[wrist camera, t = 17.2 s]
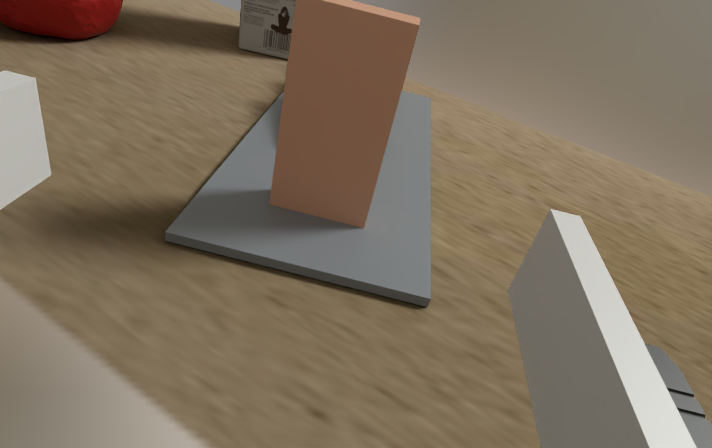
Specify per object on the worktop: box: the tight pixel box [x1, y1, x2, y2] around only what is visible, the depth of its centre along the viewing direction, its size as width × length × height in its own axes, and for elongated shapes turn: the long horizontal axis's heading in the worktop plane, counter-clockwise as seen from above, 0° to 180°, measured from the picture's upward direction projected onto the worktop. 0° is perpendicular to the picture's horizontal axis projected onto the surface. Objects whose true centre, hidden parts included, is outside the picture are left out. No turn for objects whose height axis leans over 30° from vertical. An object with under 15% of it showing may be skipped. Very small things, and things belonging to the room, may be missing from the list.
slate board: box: [165, 91, 431, 307], centre depth 33 cm, size 12×28×1 cm, turn 173°
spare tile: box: [269, 0, 420, 228], centre depth 22 cm, size 2×5×10 cm, turn 83°
